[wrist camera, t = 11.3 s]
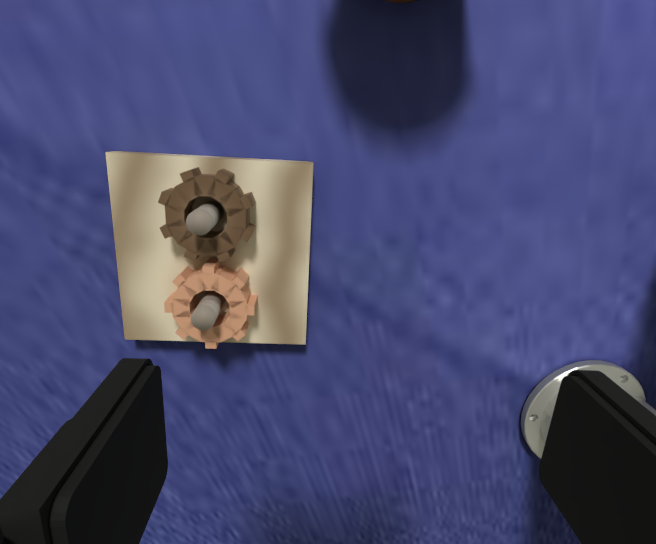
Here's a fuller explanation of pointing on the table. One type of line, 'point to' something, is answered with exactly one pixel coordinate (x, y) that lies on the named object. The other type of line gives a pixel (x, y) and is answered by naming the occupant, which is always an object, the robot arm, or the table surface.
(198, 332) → the terracotta gear
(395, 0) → the food container
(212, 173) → the gear board
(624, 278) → the table surface
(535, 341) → the table surface
